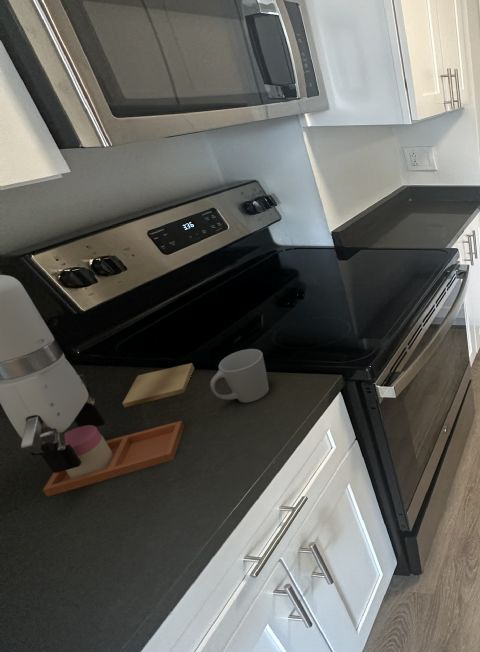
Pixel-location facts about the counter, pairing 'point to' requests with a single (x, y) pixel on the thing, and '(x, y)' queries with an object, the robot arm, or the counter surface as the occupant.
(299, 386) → the counter surface
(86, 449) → the pink lidded jar
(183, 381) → the board
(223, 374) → the cup
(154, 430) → the divided tray
